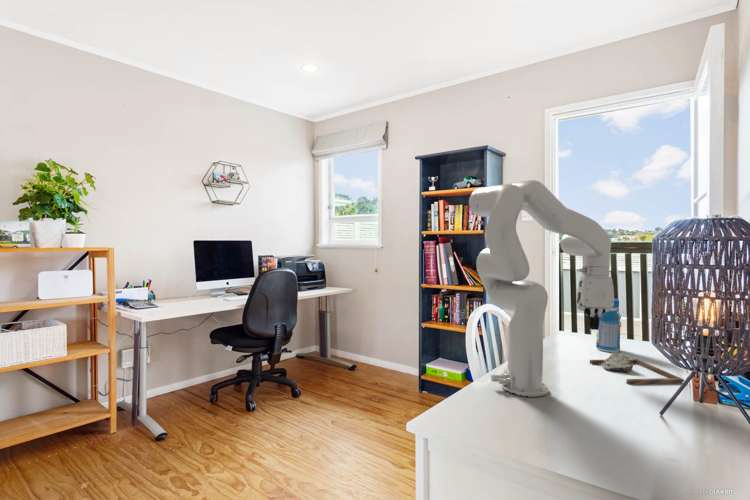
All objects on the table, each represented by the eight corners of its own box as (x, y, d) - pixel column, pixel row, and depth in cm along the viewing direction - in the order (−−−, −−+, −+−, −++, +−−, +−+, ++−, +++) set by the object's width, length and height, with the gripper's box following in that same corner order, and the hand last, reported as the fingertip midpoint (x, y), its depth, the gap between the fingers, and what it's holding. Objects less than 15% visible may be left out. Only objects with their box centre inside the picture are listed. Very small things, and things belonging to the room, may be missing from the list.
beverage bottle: (605, 353, 154) (606, 300, 154) (590, 347, 163) (591, 297, 162) (625, 352, 155) (627, 300, 155) (610, 346, 164) (611, 297, 163)
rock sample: (590, 354, 140) (612, 339, 138) (599, 365, 143) (621, 350, 141) (609, 376, 131) (633, 360, 129) (619, 387, 134) (642, 372, 132)
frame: (629, 384, 122) (629, 380, 122) (589, 363, 142) (589, 359, 142) (683, 383, 123) (683, 379, 123) (636, 362, 143) (637, 359, 143)
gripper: (579, 272, 126) (577, 331, 127) (626, 273, 127) (623, 332, 128) (567, 270, 134) (564, 325, 134) (610, 271, 135) (608, 327, 135)
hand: (593, 328), depth 131 cm, fingers closed
